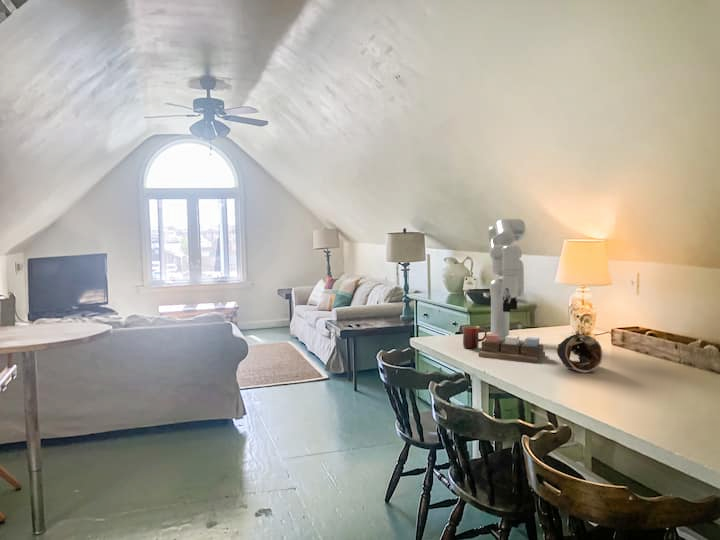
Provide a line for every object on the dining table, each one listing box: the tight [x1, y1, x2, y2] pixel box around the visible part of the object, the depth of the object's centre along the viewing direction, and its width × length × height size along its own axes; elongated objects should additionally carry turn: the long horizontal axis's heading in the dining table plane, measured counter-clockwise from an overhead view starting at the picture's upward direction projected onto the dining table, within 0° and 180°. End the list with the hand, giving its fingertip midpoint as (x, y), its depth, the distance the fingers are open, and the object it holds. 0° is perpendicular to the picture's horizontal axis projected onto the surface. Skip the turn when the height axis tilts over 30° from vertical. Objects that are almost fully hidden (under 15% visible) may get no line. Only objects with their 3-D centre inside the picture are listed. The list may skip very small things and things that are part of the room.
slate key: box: [524, 336, 540, 347], centre depth 246 cm, size 5×5×4 cm
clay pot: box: [556, 333, 603, 373], centre depth 233 cm, size 15×15×25 cm
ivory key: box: [504, 334, 520, 345], centre depth 251 cm, size 5×5×4 cm
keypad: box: [478, 339, 546, 364], centre depth 251 cm, size 16×26×6 cm, turn 59°
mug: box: [461, 325, 487, 350], centre depth 269 cm, size 12×9×10 cm
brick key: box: [485, 333, 500, 343], centre depth 255 cm, size 5×5×4 cm
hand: (510, 310), depth 250 cm, fingers open, 9 cm apart
